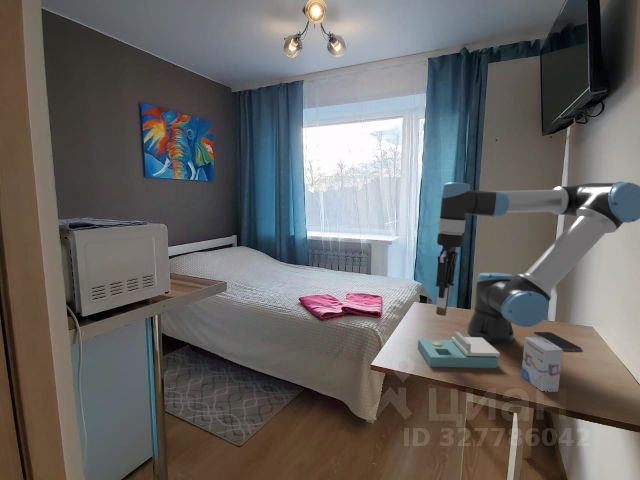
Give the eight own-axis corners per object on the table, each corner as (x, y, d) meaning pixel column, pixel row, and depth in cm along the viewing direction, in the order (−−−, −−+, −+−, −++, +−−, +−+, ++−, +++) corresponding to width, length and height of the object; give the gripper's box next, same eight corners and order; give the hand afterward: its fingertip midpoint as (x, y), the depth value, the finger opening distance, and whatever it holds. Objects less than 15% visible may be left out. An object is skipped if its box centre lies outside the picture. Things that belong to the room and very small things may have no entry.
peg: (437, 311, 111) (441, 281, 110) (447, 313, 109) (450, 283, 108) (434, 313, 109) (438, 283, 107) (444, 316, 107) (448, 285, 106)
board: (477, 349, 113) (478, 340, 112) (497, 368, 101) (498, 358, 100) (417, 348, 112) (418, 339, 112) (429, 366, 100) (430, 356, 100)
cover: (481, 340, 112) (482, 331, 111) (499, 356, 101) (500, 346, 100) (451, 339, 111) (452, 330, 111) (466, 355, 100) (467, 345, 100)
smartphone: (550, 331, 128) (583, 349, 113) (550, 334, 128) (583, 352, 114) (532, 331, 128) (563, 348, 113) (531, 334, 128) (562, 352, 113)
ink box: (519, 375, 97) (524, 335, 95) (535, 374, 98) (540, 335, 96) (541, 392, 89) (546, 349, 87) (559, 392, 89) (565, 349, 87)
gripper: (446, 230, 114) (438, 298, 117) (430, 233, 101) (422, 308, 105) (469, 233, 109) (461, 303, 113) (456, 236, 97) (447, 315, 100)
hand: (442, 305), depth 109 cm, fingers closed on peg, 2 cm apart
